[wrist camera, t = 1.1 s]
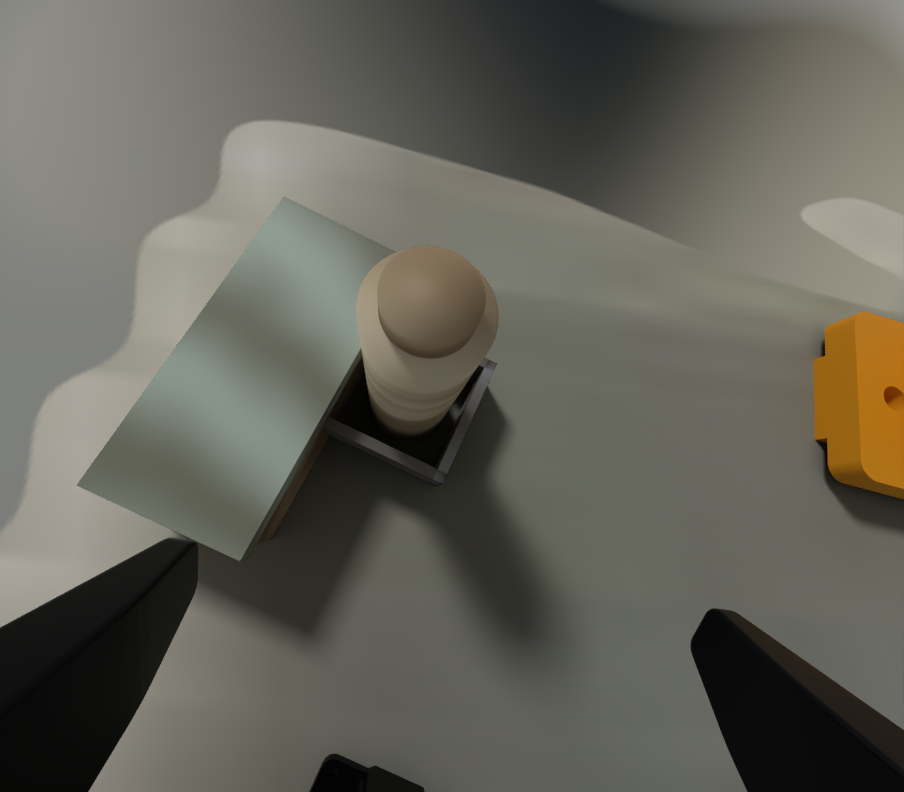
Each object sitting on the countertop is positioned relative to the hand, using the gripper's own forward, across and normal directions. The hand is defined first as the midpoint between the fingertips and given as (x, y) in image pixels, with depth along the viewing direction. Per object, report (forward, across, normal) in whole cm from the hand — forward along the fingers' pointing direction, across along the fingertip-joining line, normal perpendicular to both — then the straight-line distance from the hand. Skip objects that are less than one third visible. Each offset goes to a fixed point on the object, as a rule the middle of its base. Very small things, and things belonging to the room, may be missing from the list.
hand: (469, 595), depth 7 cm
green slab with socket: (+16, +5, +4) cm, 17 cm away
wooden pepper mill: (+16, +1, +3) cm, 16 cm away
